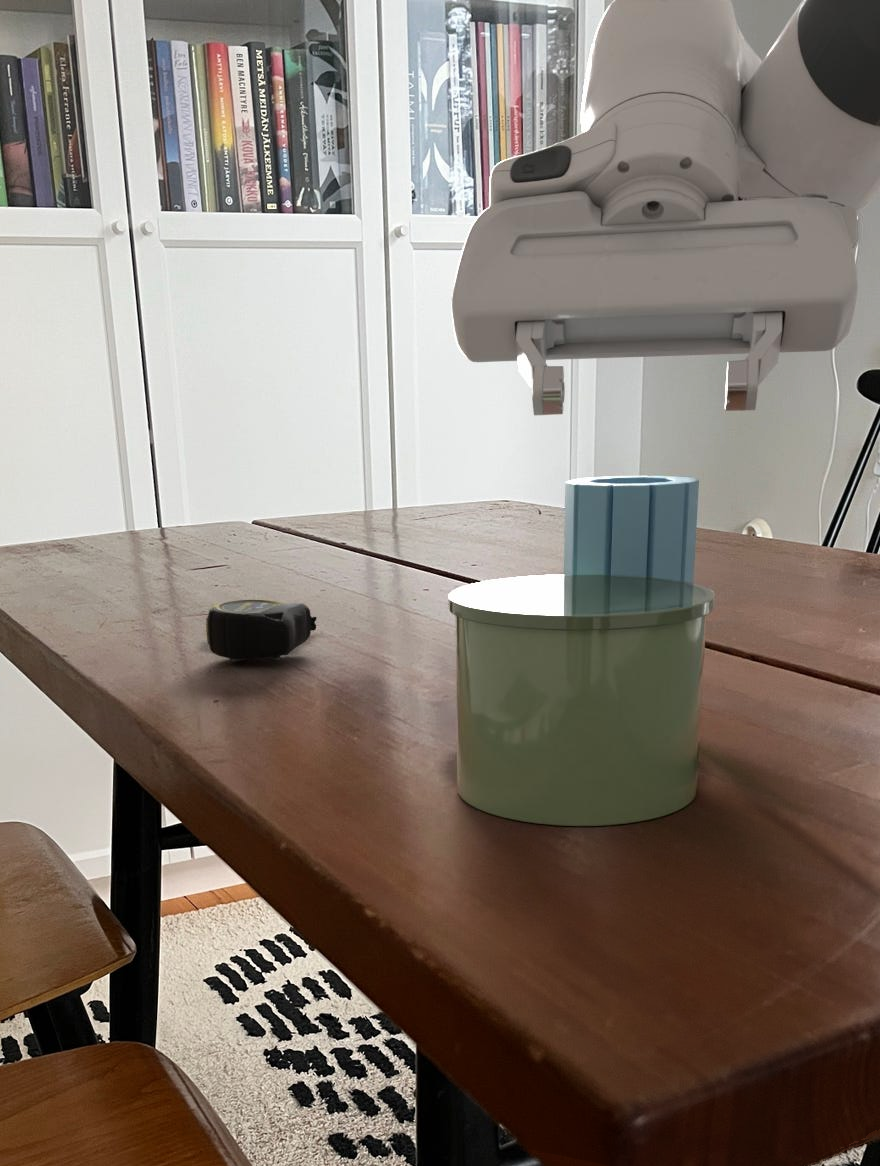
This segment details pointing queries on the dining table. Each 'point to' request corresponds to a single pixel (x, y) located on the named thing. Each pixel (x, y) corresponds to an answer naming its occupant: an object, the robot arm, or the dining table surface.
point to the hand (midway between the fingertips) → (642, 404)
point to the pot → (579, 696)
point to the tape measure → (257, 628)
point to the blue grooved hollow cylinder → (631, 526)
